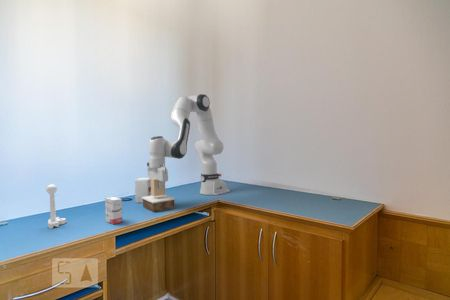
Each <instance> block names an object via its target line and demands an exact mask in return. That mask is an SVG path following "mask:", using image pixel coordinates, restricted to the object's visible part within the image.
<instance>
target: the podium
mask: <svg viewBox="0 0 450 300" xmlns="http://www.w3.org/2000/svg"><path fill="white" fill-rule="evenodd" d="M142 199H143V203H142V208H145V209H147V211H151V212H153V213H158V212H163V211H167V210H173V209H175V200H176V197H174V196H171V195H167V194H165V195H162V196H156V197H154V196H145V197H142Z"/></svg>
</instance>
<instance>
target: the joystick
mask: <svg viewBox="0 0 450 300" xmlns="http://www.w3.org/2000/svg"><path fill="white" fill-rule="evenodd" d="M45 189H46V192H47V193H48V195H49V207H50V208H49V213H50V214H49V215H50V218H49V219H48V220H47V227H48V228H49V229H51V230H52V229H54V227H56V228H57V227H59V226H61V225H65V224H66V223H67V219H66V218H65V217H63V218H62V217H61V218H60V216H57V214H56V211H57V210H56V199H55V193H56V192H57V190H58V187H57V185H56V184H49V185H47V186H46V188H45Z"/></svg>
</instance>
